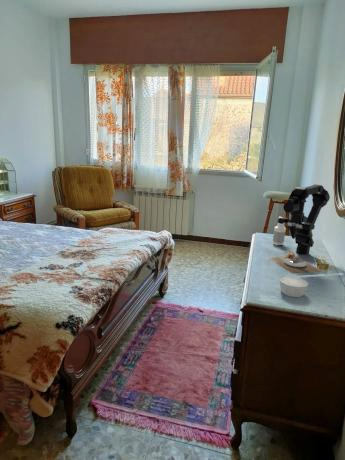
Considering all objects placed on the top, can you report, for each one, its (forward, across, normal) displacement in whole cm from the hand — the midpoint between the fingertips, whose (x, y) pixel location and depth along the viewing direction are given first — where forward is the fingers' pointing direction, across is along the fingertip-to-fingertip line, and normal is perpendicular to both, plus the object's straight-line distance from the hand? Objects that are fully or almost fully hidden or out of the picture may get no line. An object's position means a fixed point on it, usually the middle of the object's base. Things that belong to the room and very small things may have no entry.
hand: (293, 238), depth 176 cm
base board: (+12, -7, +8) cm, 16 cm away
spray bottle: (+12, +20, -19) cm, 30 cm away
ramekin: (+12, -23, +38) cm, 47 cm away
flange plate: (+11, -6, +7) cm, 14 cm away
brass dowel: (+11, -1, +5) cm, 12 cm away
